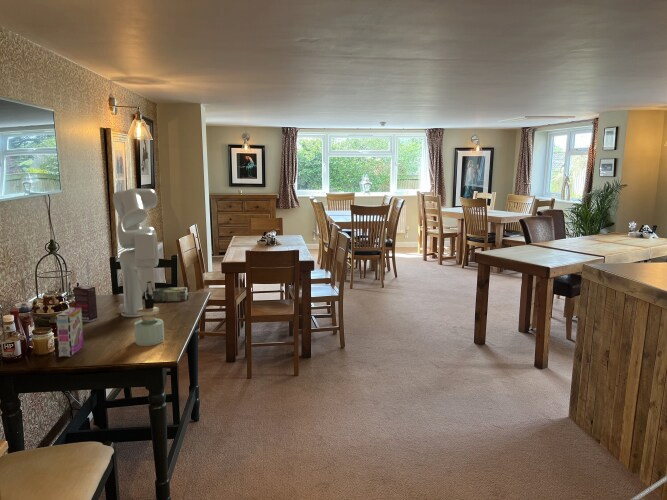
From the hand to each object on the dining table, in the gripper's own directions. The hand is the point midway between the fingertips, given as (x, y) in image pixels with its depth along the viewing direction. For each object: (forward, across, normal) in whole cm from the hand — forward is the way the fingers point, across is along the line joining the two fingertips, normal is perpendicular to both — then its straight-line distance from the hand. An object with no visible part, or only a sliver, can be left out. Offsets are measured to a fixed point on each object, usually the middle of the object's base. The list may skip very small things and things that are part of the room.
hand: (148, 306), depth 197 cm
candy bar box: (+15, -3, -28) cm, 32 cm away
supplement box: (+15, -44, -19) cm, 50 cm away
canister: (+15, 0, 0) cm, 15 cm away
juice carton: (+15, -62, +23) cm, 67 cm away
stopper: (+6, 0, 0) cm, 6 cm away
